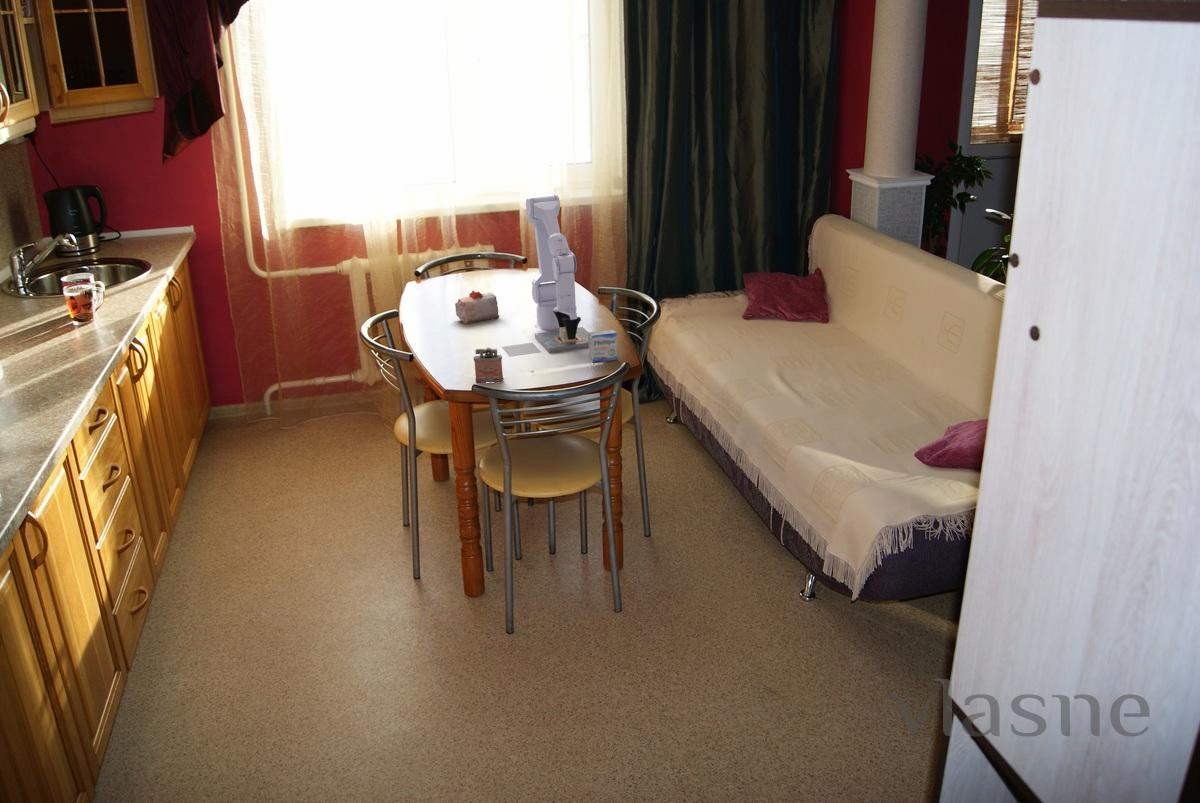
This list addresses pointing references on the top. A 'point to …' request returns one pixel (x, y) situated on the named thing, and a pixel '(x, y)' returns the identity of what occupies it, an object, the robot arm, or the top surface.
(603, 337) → the medicine box
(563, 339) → the peg
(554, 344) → the hole plate
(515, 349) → the gray square plate
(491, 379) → the lighter
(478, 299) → the food item
